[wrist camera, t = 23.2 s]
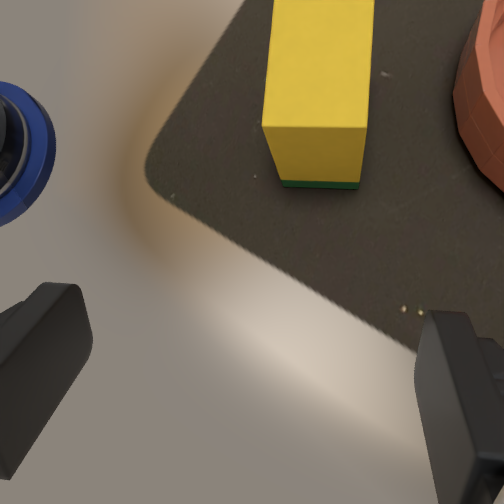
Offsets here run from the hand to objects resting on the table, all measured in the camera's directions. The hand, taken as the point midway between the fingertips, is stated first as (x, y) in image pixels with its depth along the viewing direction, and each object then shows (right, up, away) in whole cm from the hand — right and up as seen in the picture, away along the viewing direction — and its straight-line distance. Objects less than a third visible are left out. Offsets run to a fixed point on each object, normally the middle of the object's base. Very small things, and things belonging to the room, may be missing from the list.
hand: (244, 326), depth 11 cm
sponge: (+5, +9, +17) cm, 19 cm away
